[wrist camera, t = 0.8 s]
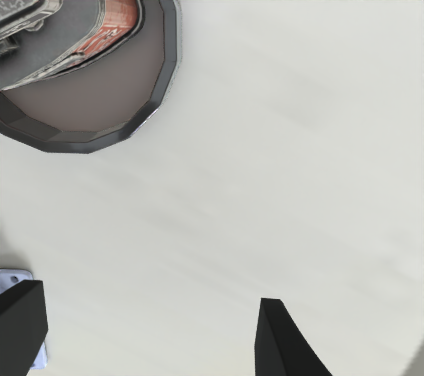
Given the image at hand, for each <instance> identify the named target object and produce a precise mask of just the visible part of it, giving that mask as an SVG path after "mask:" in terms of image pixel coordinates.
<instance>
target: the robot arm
mask: <svg viewBox="0 0 424 376" xmlns="http://www.w3.org/2000/svg"><path fill="white" fill-rule="evenodd" d="M14 276H16V277H17V278H18V279H15V278H14ZM47 332H48V323H47V315H46V306H45V297H44V289H43V281H40V280H33V277H32V274H31V273H30V272H28V271H26V270H10V269H0V376H26V375H27V373H28V371H29V370H30V369H43V368H45V366H46V364H47V355H46V350H45V344H44V339H45V337H46V334H47ZM254 349H255V376H332V374H331V373H330V372H329V371H328V370H327V368H326V367H325V366H324V364H323V363H322V362H321V361H320V359H319V358H318V357H317V355H316V354H315V353H314V351H313V350H312V348H311V347H310V345H309V344H308V343H307V341H306V340H305V338H304V337H303V335H302V334H301V332H300V331H299V329H298V328H297V326H296V324H295V323H294V321H293V320H292V318H291V316H290V315H289V313H288V311H287V309H286V308H285V306H284V304H283V302H282V301H281V300H280V299H270V298H261V303H260V310H259V317H258V324H257V331H256V339H255V346H254Z"/></svg>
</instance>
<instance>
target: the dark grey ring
mask: <svg viewBox="0 0 424 376" xmlns="http://www.w3.org/2000/svg"><path fill="white" fill-rule="evenodd" d="M159 3H160V5H161V8H162V10H163V29H164V61H163V64H162V67H161V69H160V72H159V75H158V77H157V80H156V83H155V85H154V88H153V91H152V93H151V96H150V99H149V100H148V101H147V103H146V104H145V105H144V106H143V107H142V108H141V109H140V110H139V111H138V112H137V113H136V114H135V115H134V116H133V117H132V118H131V119H130V120H128V121H126V122H123V123H121V124H118V125H116V126H113V127H110V128H108V129H105V130H103V131H100V132H77V131H61V130H58V129H56V128H54V127H51V126H49V125H47V124H44V123H42V122H39V121H37V120H35V119H32V118H30V117H27V116H26V115H25V114H24V113H23V112H22V111H21V110H20V109H18V108H17V107H16V106H15V105H14V104H13V103H12V102H11V101H10V100H8V99H7V98H6V97H5V96H4V95H3V94H2V93H1V92H0V133H1V134H3V135H5V136H7V137H9V138H12V139H14V140H17V141H19V142H22V143H24V144H26V145H29V146H31V147H34V148H36V149H39V150H41V151H43V152H47V153H79V154H89V153H93V152H95V151H98V150H100V149H103V148H106V147H108V146H111V145H113V144H116V143H119V142H121V141H124V140H126V139H128V138H130V137H131V136H132V135H133V134H134V133H135V132H136V131H137V130H138V129H139V128H140V127H141V126H142V125H143V124H144V123H145V122H146V121H147V120H148V119H149V118H150V117H151V116H152V115H153V114H154V113H155V112H156V111H157V110H158V109H159V108H160V107H161V105H162V104H163V103H164V102H165V100H166V99H167V97H168V94H169V92H170V89H171V87H172V84H173V81H174V79H175V76H176V74H177V71H178V69H179V66H180V63H181V59H182V13H181V8H180V6H179V3H178V1H177V0H159Z"/></svg>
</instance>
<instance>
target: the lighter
mask: <svg viewBox="0 0 424 376" xmlns="http://www.w3.org/2000/svg"><path fill="white" fill-rule="evenodd" d="M144 21H145V7H144V4H143V0H0V90H8V89H12V88H16V87H19V86H23V85H26V84H28V83H32V82H37V81H41V80H46V79H50V78H55V77H58V76H61V75H64V74H67V73H69V72H72V71H75V70H78V69H80V68H83V67H86V66H88V65H90V64H92V63H93V62H95V61H97V60H99V59H101V58H102V57H104V56H106V55H108V54H110V53H111V52H113V51H114V50H116V49H117V48H118V47H120V46H121V45H122V44H124V43H125V42H126V41H128V40H129V39H130V38H132V37H133V36H134V35H136V34H137V33H138V32H139V31H140V29H141V28H142V27H143V24H144Z"/></svg>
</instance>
